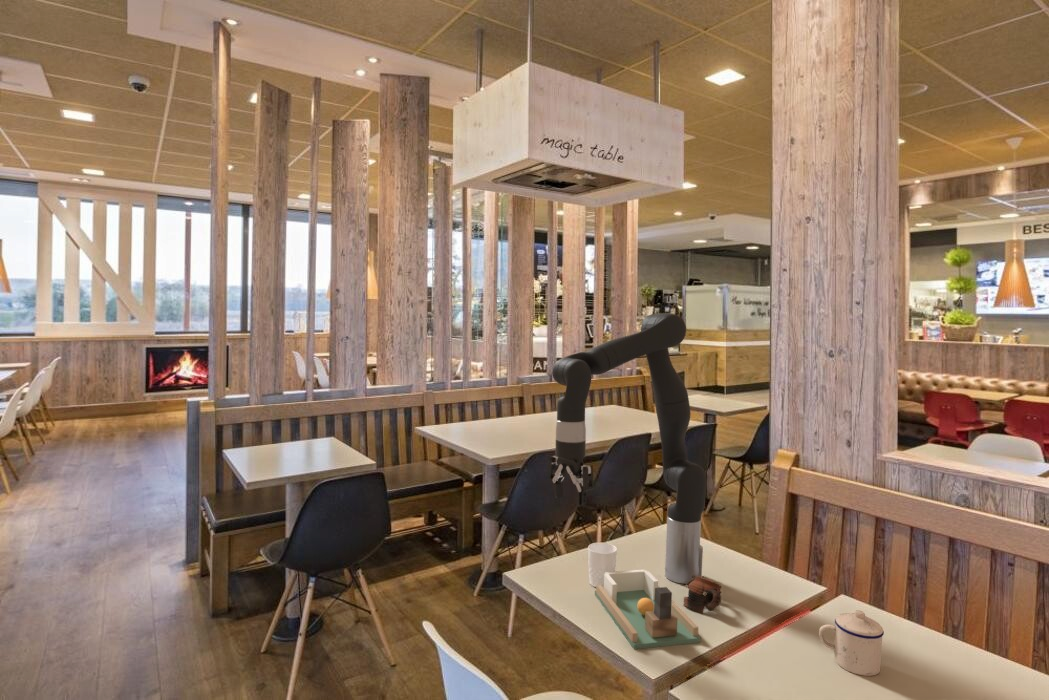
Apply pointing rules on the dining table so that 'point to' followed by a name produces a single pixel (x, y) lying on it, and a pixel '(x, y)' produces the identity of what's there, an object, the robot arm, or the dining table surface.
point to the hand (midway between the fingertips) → (569, 501)
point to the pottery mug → (696, 596)
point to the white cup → (600, 562)
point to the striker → (661, 615)
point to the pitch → (622, 607)
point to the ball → (645, 605)
